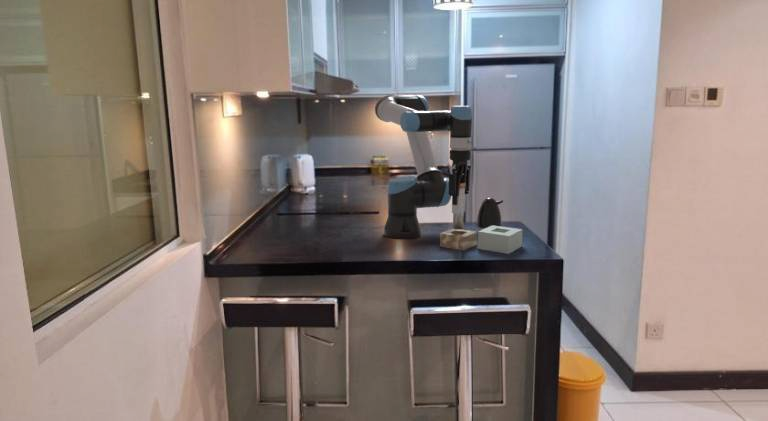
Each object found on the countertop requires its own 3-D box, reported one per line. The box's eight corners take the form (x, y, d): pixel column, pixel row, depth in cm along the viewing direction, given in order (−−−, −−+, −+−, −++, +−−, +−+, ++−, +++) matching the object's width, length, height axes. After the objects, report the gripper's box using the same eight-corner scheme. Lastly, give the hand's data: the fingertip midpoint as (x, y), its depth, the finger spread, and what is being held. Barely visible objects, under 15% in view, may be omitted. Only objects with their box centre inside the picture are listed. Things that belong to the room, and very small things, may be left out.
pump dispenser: (502, 238, 204) (503, 200, 201) (475, 236, 206) (476, 199, 203) (501, 231, 214) (503, 195, 211) (476, 230, 216) (477, 195, 213)
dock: (477, 248, 189) (478, 231, 188) (492, 241, 199) (492, 225, 198) (508, 253, 182) (509, 236, 181) (521, 246, 192) (522, 229, 191)
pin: (450, 228, 193) (451, 183, 189) (455, 226, 196) (457, 181, 193) (460, 230, 190) (461, 184, 187) (466, 227, 194) (467, 182, 190)
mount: (440, 246, 193) (440, 233, 192) (453, 240, 201) (453, 228, 200) (464, 250, 187) (464, 237, 186) (476, 244, 195) (476, 231, 194)
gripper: (458, 151, 178) (456, 217, 183) (480, 147, 191) (478, 209, 196) (439, 150, 183) (438, 214, 188) (462, 146, 196) (460, 207, 201)
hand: (458, 212), depth 192 cm, fingers closed on pin, 4 cm apart
